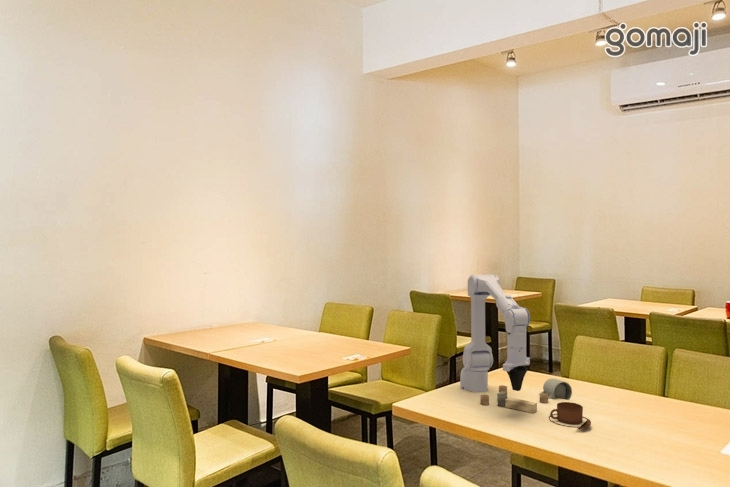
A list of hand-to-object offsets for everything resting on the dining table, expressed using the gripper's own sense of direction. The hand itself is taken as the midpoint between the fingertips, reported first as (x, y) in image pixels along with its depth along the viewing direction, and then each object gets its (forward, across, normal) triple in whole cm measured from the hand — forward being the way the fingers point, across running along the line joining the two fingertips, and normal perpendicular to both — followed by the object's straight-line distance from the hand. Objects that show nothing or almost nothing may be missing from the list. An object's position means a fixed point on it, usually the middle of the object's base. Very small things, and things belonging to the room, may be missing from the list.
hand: (516, 390), depth 170 cm
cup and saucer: (+10, +6, -15) cm, 18 cm away
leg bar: (+8, +5, +3) cm, 10 cm away
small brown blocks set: (+9, +10, +6) cm, 15 cm away
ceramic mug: (+9, +27, -1) cm, 29 cm away
